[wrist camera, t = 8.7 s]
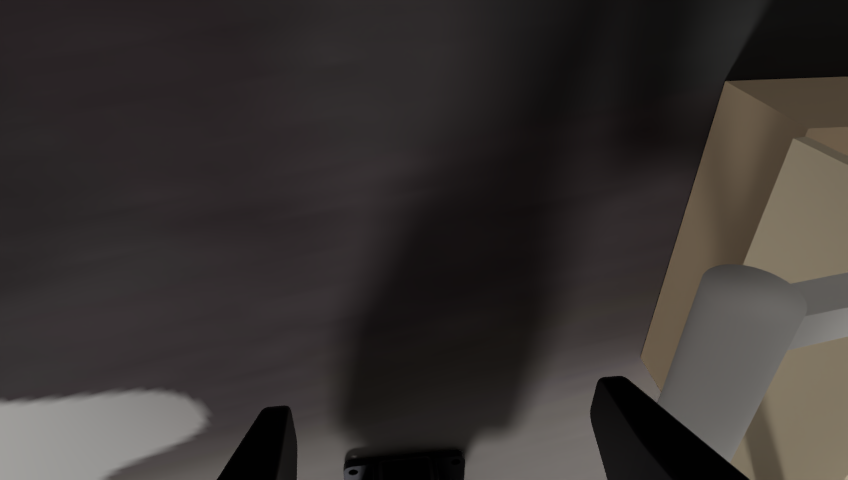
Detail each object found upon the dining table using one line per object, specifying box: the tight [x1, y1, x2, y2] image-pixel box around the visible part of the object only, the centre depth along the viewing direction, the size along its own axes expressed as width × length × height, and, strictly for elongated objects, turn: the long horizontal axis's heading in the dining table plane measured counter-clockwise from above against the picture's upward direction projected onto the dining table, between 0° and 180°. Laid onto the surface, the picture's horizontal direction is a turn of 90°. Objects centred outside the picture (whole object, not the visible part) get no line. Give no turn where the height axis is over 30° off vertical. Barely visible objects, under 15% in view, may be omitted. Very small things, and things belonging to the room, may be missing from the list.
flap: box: [658, 137, 848, 480], centre depth 17 cm, size 14×6×7 cm
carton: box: [641, 77, 848, 392], centre depth 23 cm, size 14×12×5 cm
